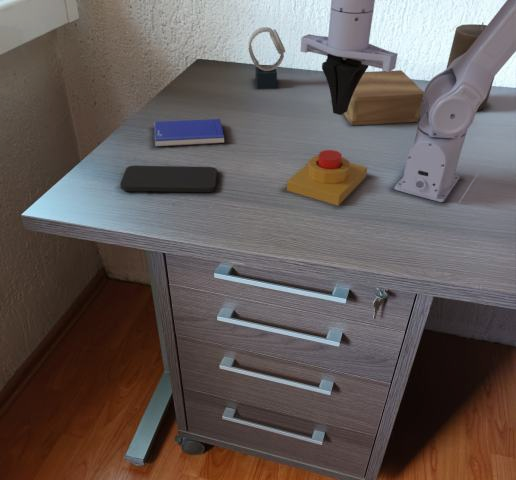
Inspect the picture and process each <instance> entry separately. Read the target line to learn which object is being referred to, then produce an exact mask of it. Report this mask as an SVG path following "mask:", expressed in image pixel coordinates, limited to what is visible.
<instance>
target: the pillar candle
mask: <svg viewBox="0 0 516 480" xmlns="http://www.w3.org/2000/svg"><path fill="white" fill-rule="evenodd" d="M487 25H488V24H484V22H482V23H481V24H475V23H474V24H472V23H471V24H461V25H458V26H456V28H455V31H454V36H453V39H452V43H451V48H450V51H449V52H450V53H449V55H448V56H449V57H448V60H447V65H446V67H445V70H446V69H447V68H448V67H449V66H450V64H451V63H452V62H453V61H454V60H455V59H456V58H458V57H459V56H461V55H463V54H464V53H466V52H467V51H468V49H469V48H470V47H471V45H472V44H473V43H474V42H475V40H476V39H477V38H478V37H479V35H480V34H481V33H482V32H483V30H484V29H485V28H486V26H487ZM495 77H496V75H495V76H494V78H493V80H492V83H491V86H490V89H489V91H488V94H487V97H486V98H485V100H484V101H483V102H482V103H481V105H480V106H479V107H478V109H477V111H476V112H478V111H481V110H484V109H485V108H486V107H487V104H488V101H489V97H490V94H491V90H492V87H493V84H494V80H495Z"/></svg>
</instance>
